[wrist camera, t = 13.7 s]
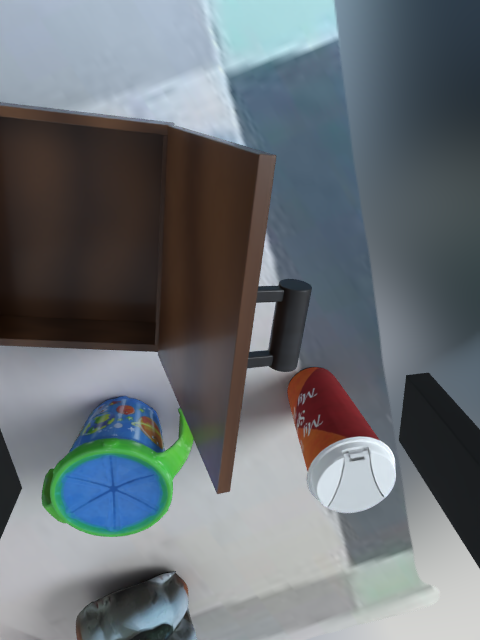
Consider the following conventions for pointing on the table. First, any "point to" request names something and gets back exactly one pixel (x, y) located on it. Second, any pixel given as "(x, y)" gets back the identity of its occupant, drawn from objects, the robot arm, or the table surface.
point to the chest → (80, 229)
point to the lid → (219, 288)
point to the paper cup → (338, 444)
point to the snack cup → (117, 471)
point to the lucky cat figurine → (140, 613)
